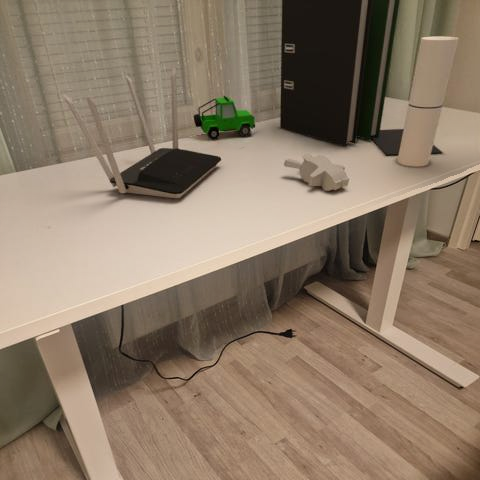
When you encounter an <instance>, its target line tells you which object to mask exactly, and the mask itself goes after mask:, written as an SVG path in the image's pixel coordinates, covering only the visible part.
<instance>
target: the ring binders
mask: <svg viewBox="0 0 480 480" xmlns="http://www.w3.org/2000/svg"><path fill="white" fill-rule="evenodd" d="M399 8H400V0H281V43H280V44H281V45H280V47H281V48H280V51H281V52H280V54H281V55H280V105H279V107H280V109H279V111H280V112H279V113H280V114H279V115H280V116H279V128H280V129H283V130H286V131H290V132H294V133H297V134H300V135H304V136H308V137H311V138H313V139H318V140H321V141H325V142H329V143H332V144H335V145H339V146H342V147H347V145H348V143H350V144H353V145H356V144H357V138H360V139H363V140H368V141H371V140H372V139H371V136H374V137H377V138H379V134H380V130H381V127H382V121H383V114H384V107H385V101H386V93H387V87H388V81H389V73H390V67H391V60H392V54H393V47H394V42H395V41H394V39H395V34H396V27H397V20H398V14H399Z"/></svg>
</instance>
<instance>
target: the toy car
mask: <svg viewBox="0 0 480 480" xmlns="http://www.w3.org/2000/svg"><path fill="white" fill-rule="evenodd" d="M214 101H215V104H214V105H212V106H211V107H209V108H207V109H205V110H204V111H202V112H201V110H200V109H201V108H204V107H205V106H207V105H208V104H210V103H212V102H214ZM214 108H215V114H207V115H204V114H205V113H207V112H208V111H210V110H212V109H214ZM197 110H198V113H197V114H193V122H194V125H195V128H200V129H201V130H202V132H203V134H207V136H208V138H209V139H210V140H212V141H216V140H217V139H219V137H220V134H221V133H223V132H232V131H233V132H234V131H237V132H238V133H239V135H240V136H241V137H245V138H246V137H248V136H250V134H251V131H252V130H254V129H255V128H256V123H255V116H254V115H253V114H251V113H250V111H248V110H247V109H242V110H241V109H240V110H239V109H237V108H236V105H235V102H234V100H232V99H231V98H230V97H229V96H226V95H223V97H218V98H217V97H216V98H213V99H211V100H209V101H207V102H206V103H204V104H203V105H201V106H198V108H197Z"/></svg>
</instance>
